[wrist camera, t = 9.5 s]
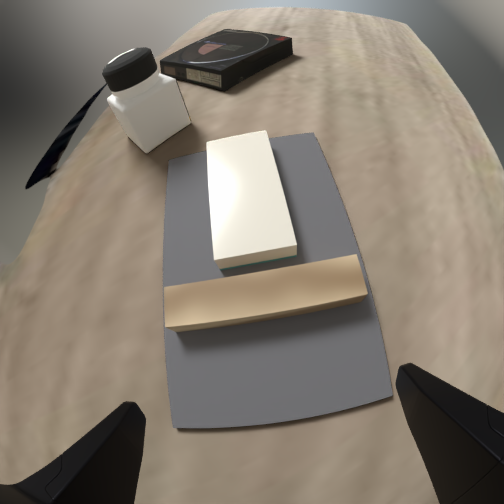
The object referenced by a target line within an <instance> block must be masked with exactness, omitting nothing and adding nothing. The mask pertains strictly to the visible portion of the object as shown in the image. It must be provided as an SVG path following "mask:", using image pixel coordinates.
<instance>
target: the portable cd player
mask: <svg viewBox="0 0 504 504" xmlns="http://www.w3.org/2000/svg"><path fill="white" fill-rule="evenodd" d="M290 55H293V49H292V38H290V37H285V36H279V35H273V34H267V33H260V32H252V31H243V30H232V29H224V30H222V31H219V32H217V33H215V34H212V35H210V36H208V37H205V38H203V39H201V40H199V41H197V42H195V43H192V44H190V45H188V46H186V47H184V48H182V49H180V50H178V51H176V52H175V53H173V54H171V55H169V56H167V57H165V58H163V59H162V60H160V67H161V74H163V75H166V76H169V77H172V78H176V79H180V80H184V81H189V82H193V83H196V84H200V85H204V86H208V87H211V88H215V89H218V90H222V91H226V90H228V89H229V88H231V87H233V86H234V85H236V84H238V83H239V82H241V81H243V80H245V79H246V78H248V77H250V76H252V75H253V74H255V73H257V72H259V71H261V70H263V69H265V68H266V67H268V66H270V65H272V64H274V63H276V62H278V61H280V60H282V59H284V58H286V57H288V56H290Z"/></svg>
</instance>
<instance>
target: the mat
mask: <svg viewBox="0 0 504 504" xmlns="http://www.w3.org/2000/svg"><path fill="white" fill-rule="evenodd" d="M269 142H270V146H271V149H272V152H273V156H274V159H275V163H276V167H277V170H278V174H279V177H280V181H281V185H282V188H283V192H284V196H285V200H286V203H287V207H288V211H289V215H290V219H291V223H292V227H293V231H294V235H295V239H296V243H297V256H296V257H292V258H287V259H281V260H276V261H270V262H265V263H259V264H254V265H248V266H243V267H237V268H232V269H226V270H221V271H220V269H219V267H218V266H217V264H216V263H215V261H214V254H213V242H212V229H211V215H210V200H209V184H208V165H207V151H202V152H198V153H194V154H190V155H186V156H182V157H178V158H174V159H170V160H169V165H168V176H167V187H166V201H165V218H164V242H163V316H164V339H165V355H166V369H167V380H168V391H169V400H170V408H171V416H172V424H173V428H222V427H239V426H251V425H261V424H270V423H277V422H284V421H291V420H297V419H303V418H308V417H314V416H319V415H323V414H328V413H333V412H337V411H341V410H345V409H349V408H353V407H357V406H360V405H364V404H367V403H371V402H374V401H377V400H381V399H384V398H387V397H390V396H393V393H392V387H391V381H390V375H389V369H388V364H387V358H386V353H385V348H384V343H383V339H382V334H381V330H380V325H379V321H378V317H377V313H376V309H375V305H374V301H373V297H372V293H371V289H370V286H369V282H368V279H367V275H366V272H365V268H364V265H363V262H362V258H361V255H360V252H359V249H358V246H357V243H356V239H355V236H354V233H353V230H352V228H351V225H350V222H349V219H348V216H347V213H346V211H345V208H344V205H343V202H342V200H341V197H340V194H339V192H338V189H337V187H336V184H335V182H334V179H333V177H332V174H331V172H330V169H329V167H328V164H327V162H326V160H325V157H324V155H323V153H322V150H321V148H320V146H319V144H318V141H317V139H316V137H315V135H314V133H305V134H296V135H289V136H282V137H275V138H269ZM354 254H357V257H358V260H359V264H360V267H361V270H362V274H363V277H364V281H365V285H366V288H367V292H368V294H367V296H366V297H365V298H364V299H363V300H362V301H361V302H358V303H354V304H350V305H345V306H340V307H336V308H331V309H326V310H321V311H316V312H311V313H306V314H301V315H295V316H290V317H284V318H278V319H272V320H266V321H260V322H253V323H247V324H240V325H233V326H225V327H218V328H210V329H201V330H192V331H183V332H174V331H172V330H170V329H168V328H166V327H165V313H164V287H168V286H174V285H181V284H187V283H194V282H200V281H206V280H213V279H219V278H225V277H231V276H237V275H243V274H249V273H255V272H261V271H266V270H272V269H278V268H284V267H289V266H295V265H300V264H306V263H311V262H317V261H322V260H328V259H333V258H338V257H344V256H349V255H354Z"/></svg>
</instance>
